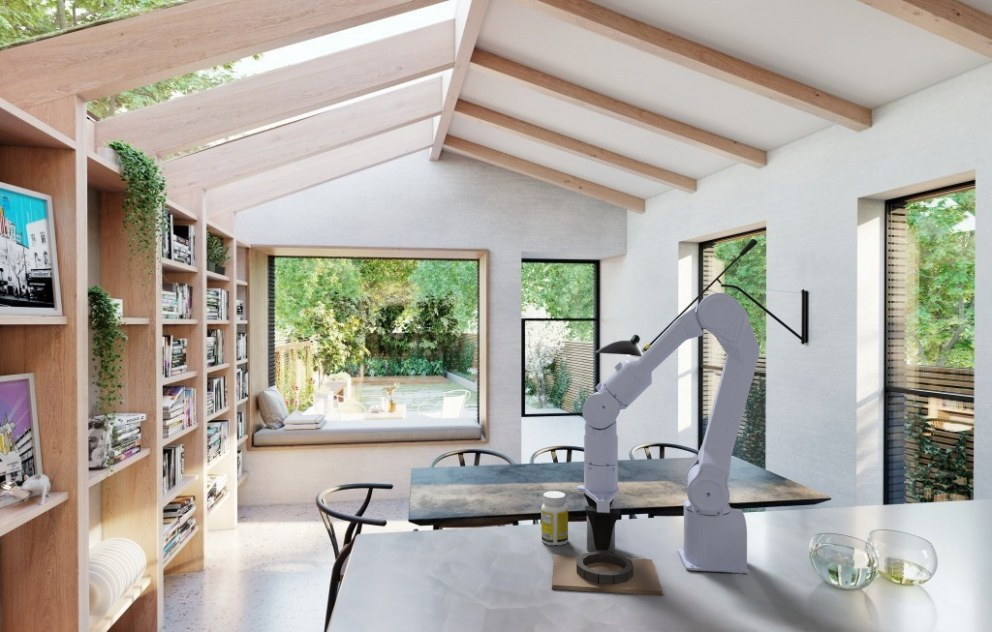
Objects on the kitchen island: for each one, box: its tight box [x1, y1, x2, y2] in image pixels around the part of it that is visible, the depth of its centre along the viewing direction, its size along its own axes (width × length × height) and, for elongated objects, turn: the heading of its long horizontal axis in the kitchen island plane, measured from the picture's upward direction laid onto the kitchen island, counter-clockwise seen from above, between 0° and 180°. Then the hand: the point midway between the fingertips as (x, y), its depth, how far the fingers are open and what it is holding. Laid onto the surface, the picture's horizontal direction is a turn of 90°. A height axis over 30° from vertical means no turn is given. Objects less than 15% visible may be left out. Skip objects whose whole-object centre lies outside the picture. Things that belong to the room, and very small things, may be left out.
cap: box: [586, 515, 616, 553], centre depth 102 cm, size 5×5×6 cm
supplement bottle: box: [540, 490, 569, 546], centre depth 106 cm, size 5×5×8 cm
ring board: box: [551, 551, 664, 596], centre depth 92 cm, size 16×11×2 cm
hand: (600, 540), depth 102 cm, fingers open, 7 cm apart
